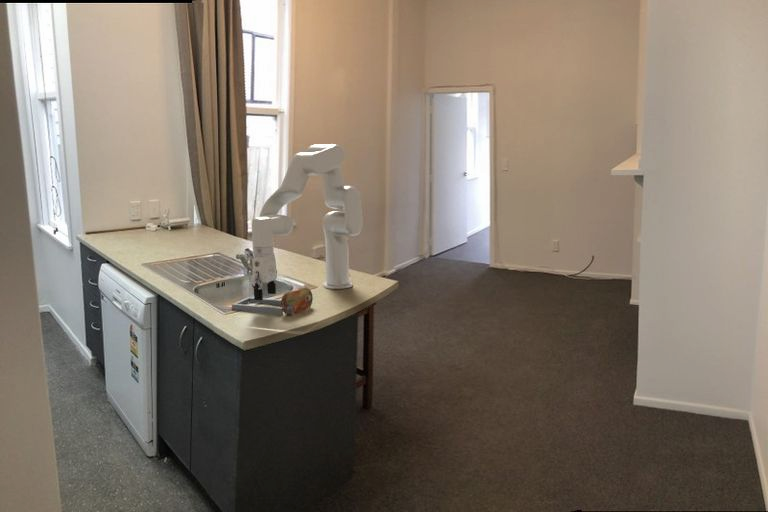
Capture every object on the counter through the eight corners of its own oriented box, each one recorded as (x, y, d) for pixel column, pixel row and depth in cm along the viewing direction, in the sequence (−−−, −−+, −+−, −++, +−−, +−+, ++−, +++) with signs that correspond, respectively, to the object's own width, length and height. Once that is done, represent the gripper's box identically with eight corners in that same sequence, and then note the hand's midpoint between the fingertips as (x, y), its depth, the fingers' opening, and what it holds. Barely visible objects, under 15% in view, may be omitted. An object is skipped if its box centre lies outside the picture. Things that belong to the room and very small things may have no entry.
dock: (248, 303, 225) (248, 297, 225) (295, 307, 219) (295, 301, 218) (232, 311, 214) (231, 304, 214) (281, 315, 208) (281, 308, 208)
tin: (286, 317, 206) (285, 294, 204) (279, 316, 207) (279, 293, 206) (313, 308, 218) (313, 286, 217) (307, 307, 220) (306, 285, 218)
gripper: (260, 255, 203) (262, 303, 206) (283, 247, 220) (285, 292, 223) (241, 254, 206) (243, 301, 209) (266, 247, 222) (267, 290, 225)
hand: (265, 296), depth 216 cm, fingers open, 9 cm apart
